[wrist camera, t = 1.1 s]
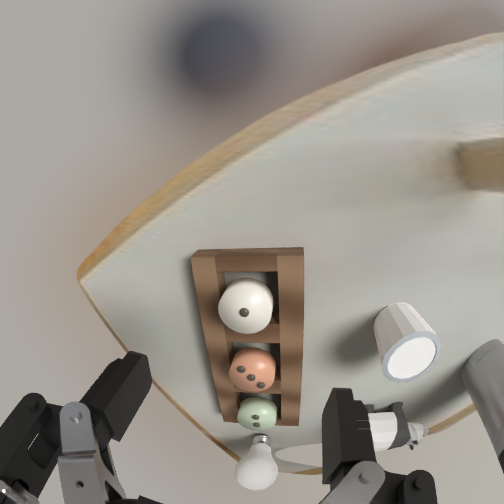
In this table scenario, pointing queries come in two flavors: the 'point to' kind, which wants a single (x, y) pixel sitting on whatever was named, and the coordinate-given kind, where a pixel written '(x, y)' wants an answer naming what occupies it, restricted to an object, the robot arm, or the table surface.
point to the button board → (277, 331)
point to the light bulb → (257, 465)
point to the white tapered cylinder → (405, 343)
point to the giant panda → (394, 429)
